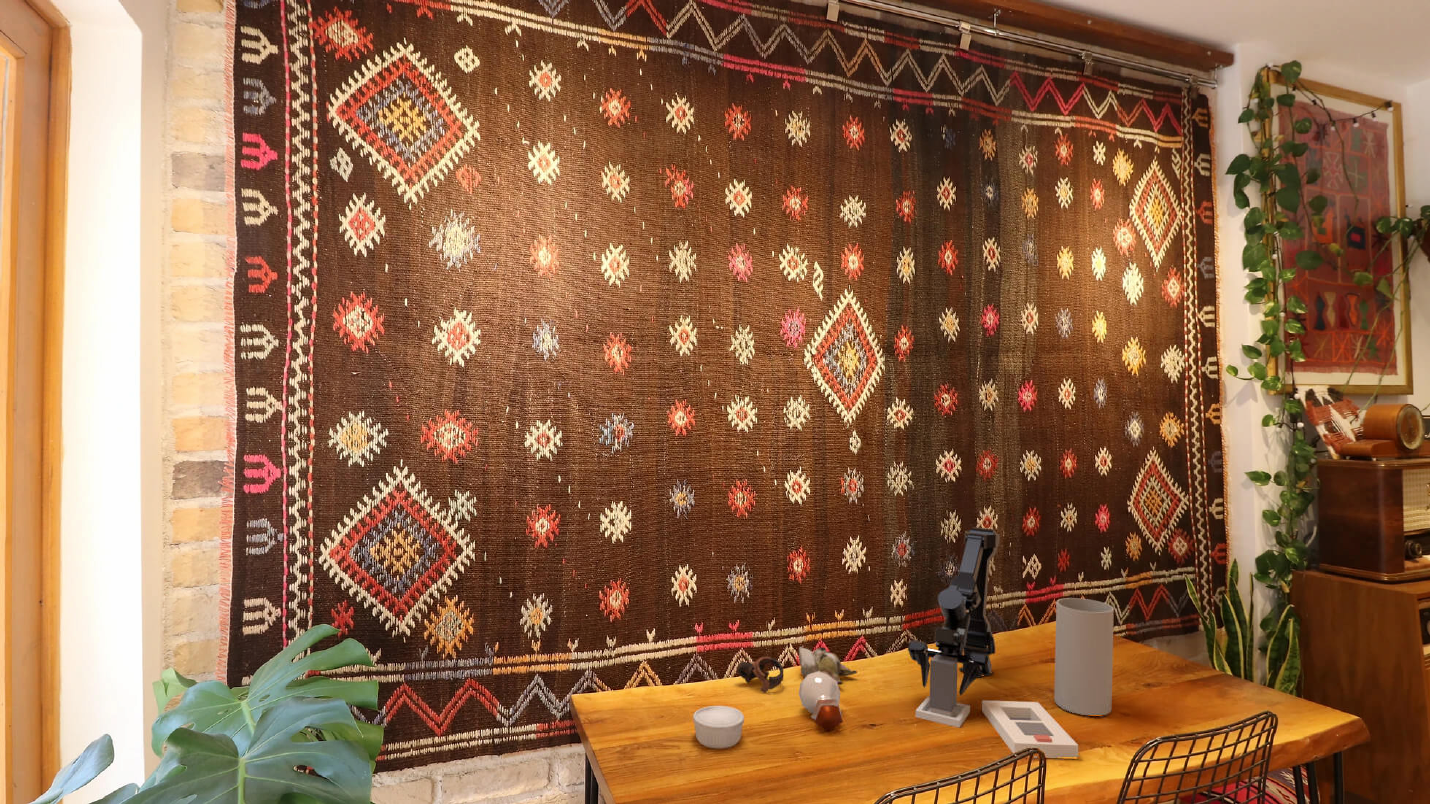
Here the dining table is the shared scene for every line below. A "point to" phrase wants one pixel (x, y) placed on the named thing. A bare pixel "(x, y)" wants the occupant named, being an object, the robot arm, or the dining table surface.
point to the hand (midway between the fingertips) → (941, 690)
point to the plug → (943, 685)
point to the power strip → (1029, 728)
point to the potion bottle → (821, 699)
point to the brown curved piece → (761, 672)
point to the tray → (956, 720)
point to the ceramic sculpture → (822, 663)
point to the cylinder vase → (1084, 656)
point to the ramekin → (718, 726)
